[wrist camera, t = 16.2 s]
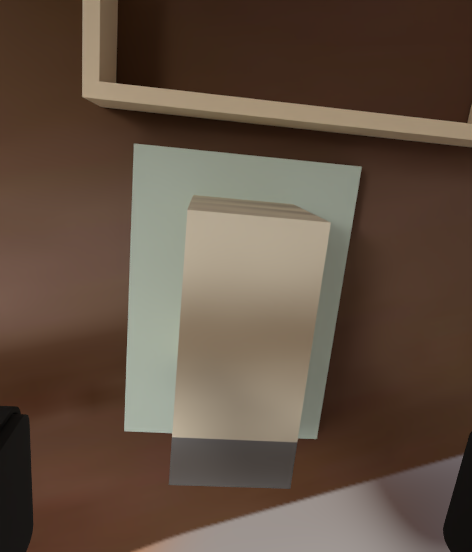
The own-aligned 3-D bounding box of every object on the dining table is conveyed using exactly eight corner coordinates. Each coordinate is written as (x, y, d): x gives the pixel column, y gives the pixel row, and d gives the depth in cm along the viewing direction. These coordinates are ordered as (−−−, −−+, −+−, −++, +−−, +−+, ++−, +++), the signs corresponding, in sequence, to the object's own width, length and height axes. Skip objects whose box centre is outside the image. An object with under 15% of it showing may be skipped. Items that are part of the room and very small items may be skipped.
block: (193, 194, 19) (187, 209, 13) (293, 204, 19) (331, 222, 13) (179, 396, 21) (168, 484, 15) (267, 401, 22) (290, 488, 16)
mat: (137, 144, 19) (134, 143, 18) (354, 166, 20) (361, 166, 19) (127, 419, 23) (124, 431, 22) (312, 427, 23) (316, 438, 22)
